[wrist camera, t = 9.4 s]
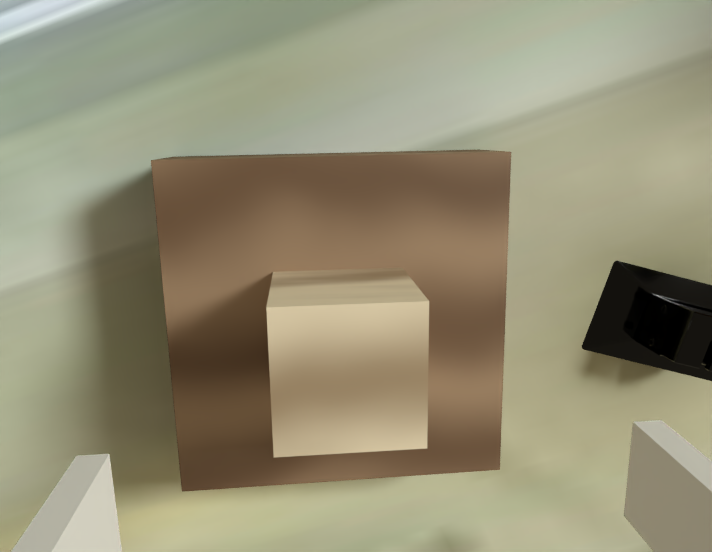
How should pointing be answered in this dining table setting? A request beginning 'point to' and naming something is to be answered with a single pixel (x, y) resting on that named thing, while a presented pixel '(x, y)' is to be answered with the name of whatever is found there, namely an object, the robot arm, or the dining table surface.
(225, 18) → the dining table surface
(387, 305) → the maple cube
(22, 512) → the dining table surface
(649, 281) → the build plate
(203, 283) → the walnut block
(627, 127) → the dining table surface
